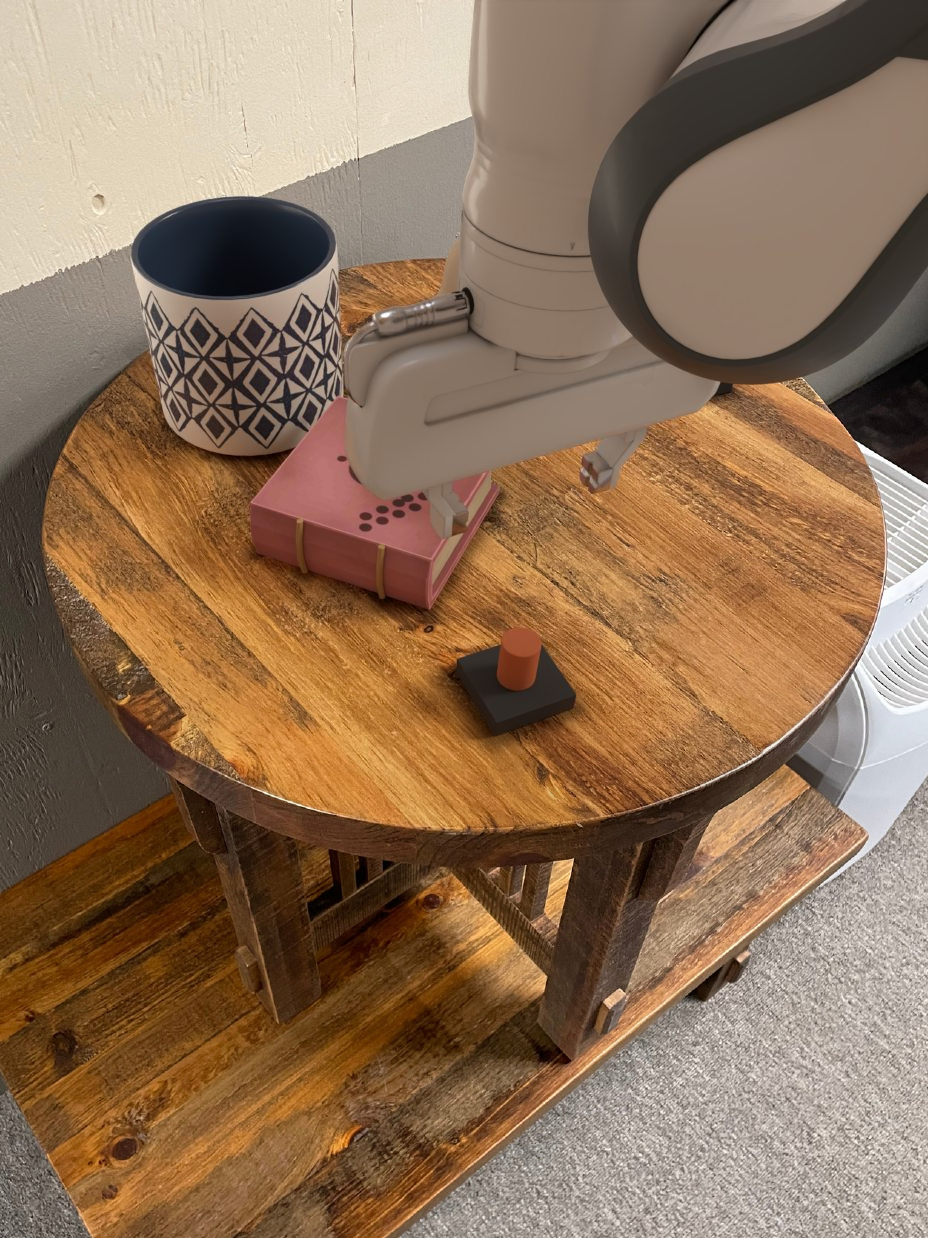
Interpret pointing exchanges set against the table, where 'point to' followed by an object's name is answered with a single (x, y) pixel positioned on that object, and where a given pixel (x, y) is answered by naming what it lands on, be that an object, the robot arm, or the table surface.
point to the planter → (241, 321)
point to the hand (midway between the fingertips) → (524, 506)
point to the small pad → (509, 702)
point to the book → (358, 521)
